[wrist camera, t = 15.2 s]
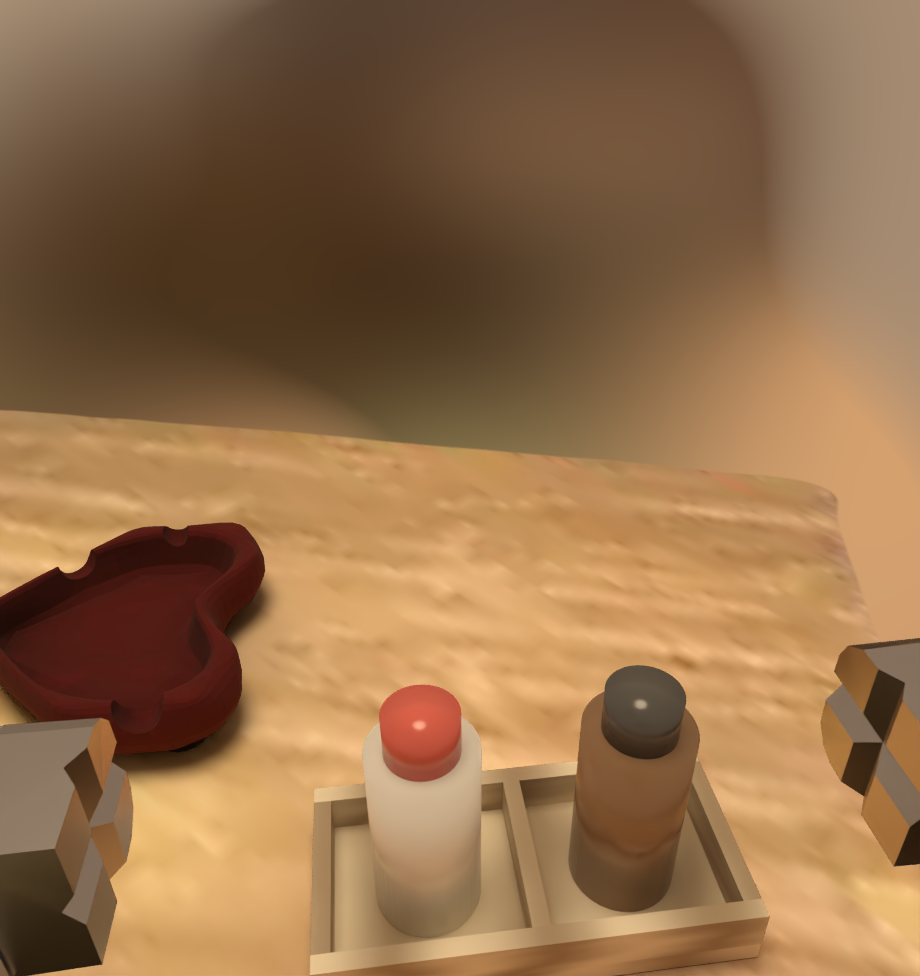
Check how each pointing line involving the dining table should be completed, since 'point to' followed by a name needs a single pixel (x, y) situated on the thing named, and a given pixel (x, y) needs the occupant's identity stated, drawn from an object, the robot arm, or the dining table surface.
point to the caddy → (533, 893)
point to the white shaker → (424, 811)
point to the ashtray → (135, 635)
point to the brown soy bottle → (632, 789)
